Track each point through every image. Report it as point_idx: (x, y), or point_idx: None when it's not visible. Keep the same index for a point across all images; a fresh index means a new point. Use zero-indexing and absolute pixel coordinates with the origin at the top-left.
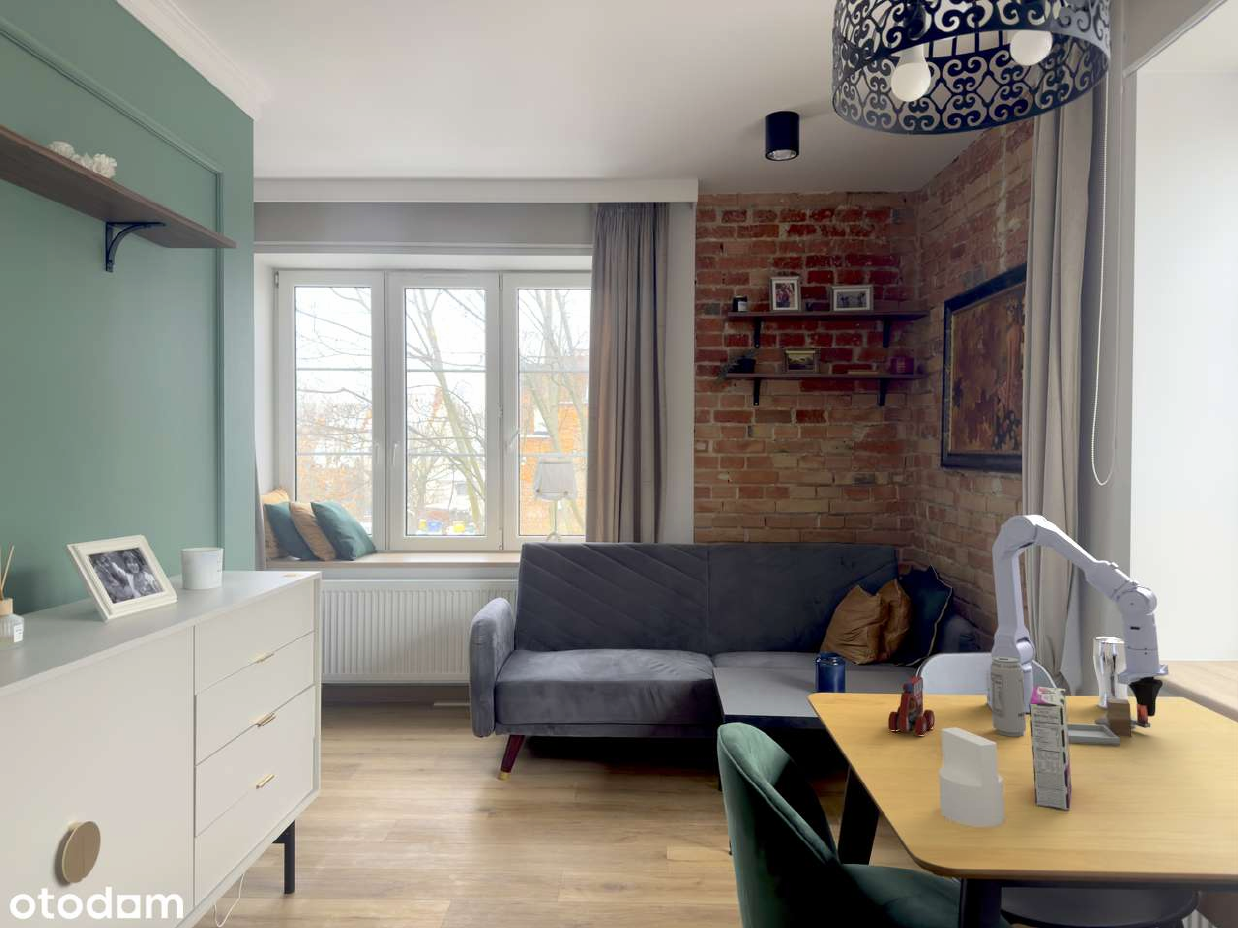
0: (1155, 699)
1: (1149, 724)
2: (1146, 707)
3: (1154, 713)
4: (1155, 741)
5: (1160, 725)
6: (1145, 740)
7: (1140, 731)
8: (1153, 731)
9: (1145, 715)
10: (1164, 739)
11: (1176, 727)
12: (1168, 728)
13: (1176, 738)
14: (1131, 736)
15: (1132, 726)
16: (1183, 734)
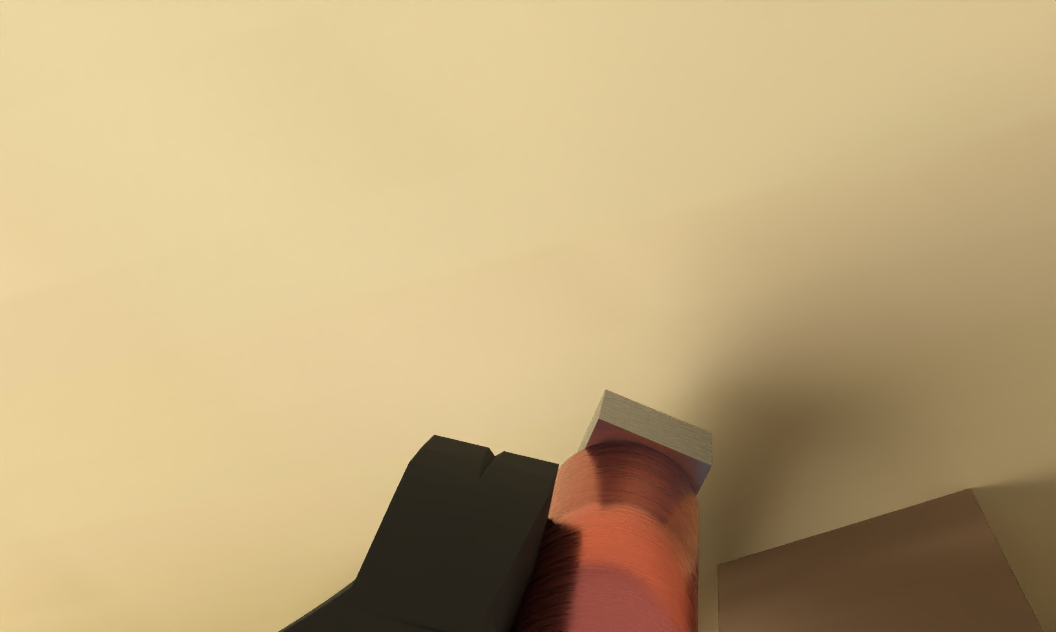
0: (352, 602)
1: (617, 413)
2: (624, 620)
3: (439, 448)
4: (1012, 193)
5: (130, 356)
6: (1051, 312)
7: None
8: (475, 349)
9: (664, 535)
10: (795, 129)
11: (54, 188)
12: (182, 249)
13: (608, 16)
14: (967, 494)
15: None
16: (312, 11)
